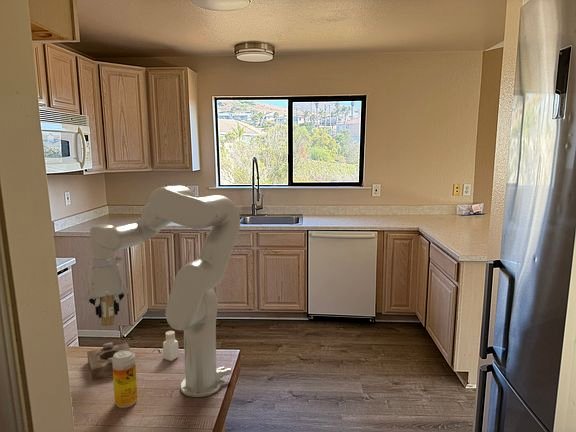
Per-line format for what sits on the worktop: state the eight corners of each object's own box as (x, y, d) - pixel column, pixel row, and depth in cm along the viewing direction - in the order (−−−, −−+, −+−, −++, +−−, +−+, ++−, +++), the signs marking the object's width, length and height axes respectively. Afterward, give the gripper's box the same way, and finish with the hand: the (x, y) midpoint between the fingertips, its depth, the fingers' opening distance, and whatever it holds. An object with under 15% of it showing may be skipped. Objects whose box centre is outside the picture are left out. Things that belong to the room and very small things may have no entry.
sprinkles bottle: (116, 324, 133) (114, 286, 131) (102, 327, 130) (99, 288, 128) (114, 320, 136) (112, 282, 135) (99, 323, 134) (97, 284, 132)
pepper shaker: (162, 358, 140) (161, 333, 139) (171, 354, 144) (170, 329, 142) (170, 361, 138) (169, 336, 137) (179, 357, 142) (178, 331, 140)
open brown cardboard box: (127, 353, 145) (126, 338, 144) (135, 370, 133) (134, 353, 132) (88, 362, 138) (86, 346, 137) (92, 381, 126) (91, 364, 125)
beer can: (123, 411, 110) (120, 361, 108) (110, 404, 114) (107, 355, 112) (142, 400, 116) (139, 352, 114) (128, 394, 119) (126, 347, 117)
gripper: (129, 256, 138) (132, 306, 140) (74, 262, 129) (78, 316, 132) (133, 261, 132) (136, 313, 134) (76, 268, 123) (80, 324, 125)
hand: (107, 314), depth 133 cm, fingers closed on sprinkles bottle, 4 cm apart
